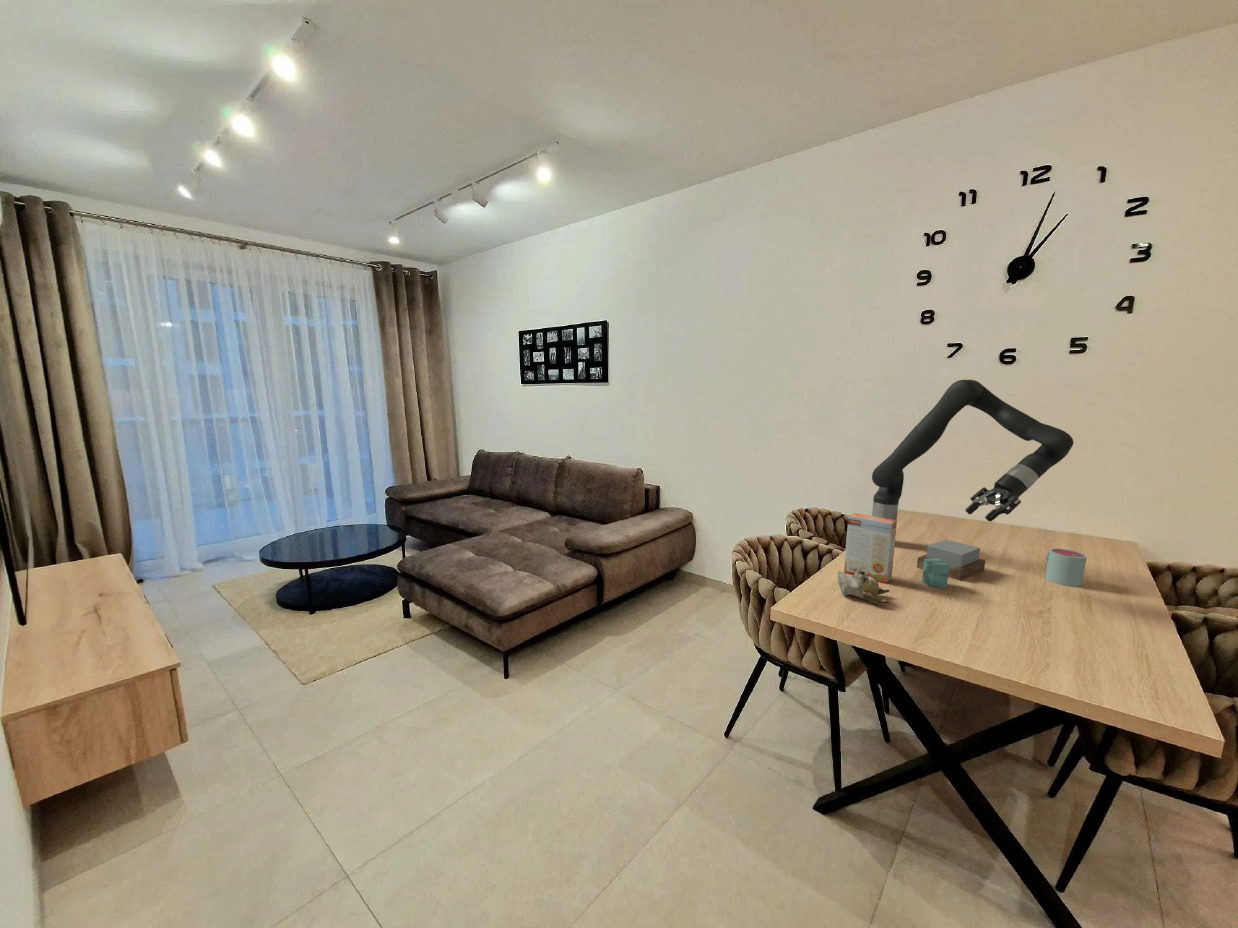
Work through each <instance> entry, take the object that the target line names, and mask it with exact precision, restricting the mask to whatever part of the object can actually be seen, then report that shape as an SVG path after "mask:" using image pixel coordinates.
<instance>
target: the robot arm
mask: <svg viewBox="0 0 1238 928" xmlns="http://www.w3.org/2000/svg"><path fill="white" fill-rule="evenodd" d="M967 406H970V407H973V408H975V409H977V410H980V411H981V412H984V413H985V414H986V415H988V416H990V417H991V418H992V420H994V421H996V422H997V423H998V424H999V426H1001V427H1003V428H1004V429H1006V431H1008V432H1009V433H1011V434H1013V435H1014V436H1017V438H1019V439H1022V440H1023V441H1026V442H1030V441H1034V442H1037V443H1039V444H1041V445H1040V446H1039V447H1038V448H1037V449H1036V450H1035V451H1034V452H1031V453H1029V454H1027V455H1026V456H1025V457H1023V458H1022V459H1021V460H1020V461H1019V462H1018V463H1017V464H1016V465H1014V466H1012V467H1011V468H1010V469H1008V471H1006V472H1005V473H1004V474H1003V475H1002V476H1001V477H1000V478H999V479H997V480H996V481H995V482H994V483H993V484H994V485H993V488H992V489H987V488H986V487H985V486H983V487H982V488H981V489H979V490H978V491H976V492H975V494H974V495H972V496H971V497H970V498H969V499H970V501H971V502H972V503H970V505H968V507H966V508H965V510H964V511H965V512H966V513H967V514H968V515H972V514H974V512H975V511H977V510H978V509H979V508H980V507H982V506H988V505H992V506H995V508H993V509H992V510H990V511H989V512H988V513H987V514H986V515H985V516H984V517H985V520H987V521H988V522H992V521H994V520H995V519H996V518H998V517H999V516H1000V515H1003V514H1005V515H1010V514H1011V513H1012V512H1013V511H1014V510H1015V509H1016V508H1017V507H1018V506H1019V505H1021V503H1022V501H1021V500H1020V497H1021V496H1022V495H1023V494H1024V493H1025V492H1027V491H1028V490H1029V489H1030V488H1031V487H1032V486H1033V485H1034V484H1035V483H1036V482H1037V481H1038V479H1039V478H1041V477H1042V476H1043V475H1044V474H1046V472H1047V471H1048V470H1050V469H1051V468H1053V466H1055V465H1057V464H1058V463H1060V462H1061V461H1062V460H1063V459H1064V458H1065V457H1066V456H1068V454H1069V453H1070V451H1071V449H1072V448H1073V446H1074V439H1073V437H1072V436H1071V435H1070V434H1069V433H1068V432H1067V431H1064V430H1062V429H1060V428H1058V427H1054V426H1052V425H1049V424H1046V423H1042V422H1040V421H1039V420H1037V419H1036V418H1033V417H1031V416H1030V415H1028V414H1027V413H1025V412H1023V411H1022V410H1019V409H1017V408H1016V407H1014V406H1012V405H1010V404H1009V403H1007V402H1005V401H1004V400H1003V399H1001V398H1000V397H998V396H997V395H995V394H993V392H992V391H990V390H989V389H988V388H986V386H984V385H983V384H982V383H980V382H979V381H978V380H975V379H959V380H956V381H955V382H953V383H952V384H951V385H949V387H948V388H947V389H946V390H945V392H944V393H943V394H942V397H940V399H939V400H938V401H937V403H936V404H935V405H934V407H933V408H932V409H931V410H930V411H928V413H927V414H926V415H925V416H924V417H923V418H921V420H920V421H919V422H918V423H917V424H916V425H915V426H914V427H913V428H912V429H911V431H910V432H909V433H908V434H907V435H906V436H905V438H904V439H903V440H902V441H901V442H900V443H899V445H897V447H896V448H895V449H893V451H892V453H891V454H890V455H889V456H888V457H886V458H885V459H884V460H883V461H882V462H881V463H880V464H878V465H877V467H875V468H874V469H873V471H872V473H871V480H872V482H873V484H874V485H875V486H877V487H878V489H877V491H876V492H875V493H874V495H873V502H872V511H871V512H872V513H871V516H874V517H880V518H885V519H891V520H898V513H899V511H898V510H899V504H900V503H899V501H900V499H901V497H902V494H903V486H904V481H905V480H904V478H905V475H904V471H903V470H904V469H905V468H906V467H908V465H910V464H911V463H912V462H915V460H917V459H919V458H920V457H921V456H923V455H924V454H926V453H927V452H928V451H929V450H930V449H931V448H932V447H933V446H934V445H935V444H936V443H937V442H938V441H939V440H940V439H941V437H942V436H943V434H944V433H945V431H946V429H947V427H948V425H949V423H950V421H951V420H952V419H953V418H954V417H955V416H956V415H957V414H958V413H959V412H960V411H962V410H963V409H964V408H965V407H967Z"/></svg>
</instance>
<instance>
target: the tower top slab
mask: <svg viewBox="0 0 1238 928" xmlns="http://www.w3.org/2000/svg"><path fill="white" fill-rule="evenodd" d="M980 552H981V547H978V546H973V545H969V544H966V543H961V542H959V541H958V542H957V541H953V540H949V539H945V540H941V541H938V542H935V543H932V544H930V545H927V546H926V554H927V556H926V558H929V559H940V560H942V561H944V562H946V563H948V564H950V565H953V566H957V567H960V568H961V567H963V566H965V565H968V564H970V563H973V562H975V561H977V560H979V558H980Z"/></svg>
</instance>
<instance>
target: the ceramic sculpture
mask: <svg viewBox="0 0 1238 928" xmlns="http://www.w3.org/2000/svg"><path fill="white" fill-rule="evenodd" d="M878 582H879V581H877V580H875V579H874V578H873V577H870V576H867V575H865V573H864V572H858V573H855V574H854V575H853V574H849V573H845V572H844V571H837V584H838V586H839V589H840V592H841V594H842V595H843V596H848V595H851V596H855V597H857V598H859V599H862V600H865V601H866V600H867V601H869V602H871V603H873V604H889V603H890V601H888V600H886V599H885V598H884V597H883V596H882V595H883V594H887V593H889V592H890V591H891V590H890V589H883V588H881V587H879V583H878Z"/></svg>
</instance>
